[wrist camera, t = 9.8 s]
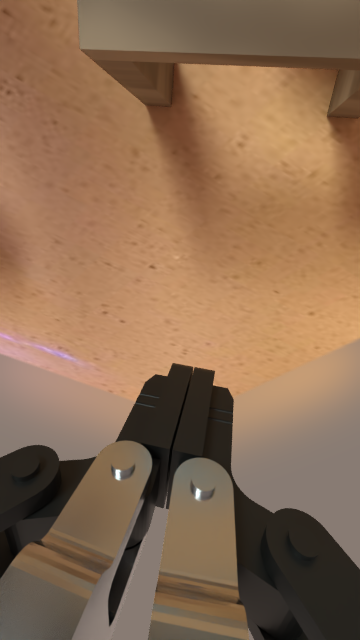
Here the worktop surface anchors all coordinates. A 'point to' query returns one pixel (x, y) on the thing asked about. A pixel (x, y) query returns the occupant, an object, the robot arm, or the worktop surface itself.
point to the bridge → (222, 41)
